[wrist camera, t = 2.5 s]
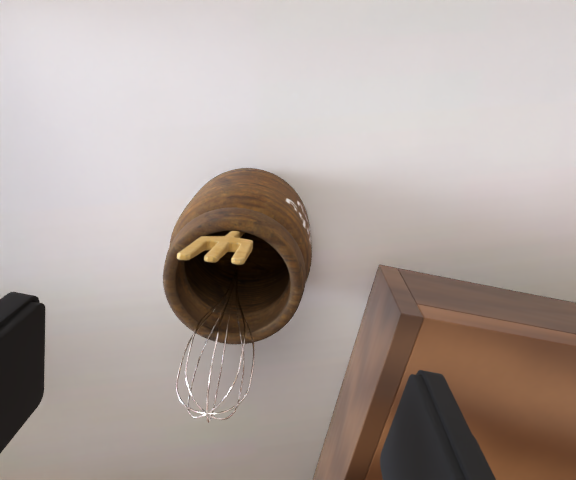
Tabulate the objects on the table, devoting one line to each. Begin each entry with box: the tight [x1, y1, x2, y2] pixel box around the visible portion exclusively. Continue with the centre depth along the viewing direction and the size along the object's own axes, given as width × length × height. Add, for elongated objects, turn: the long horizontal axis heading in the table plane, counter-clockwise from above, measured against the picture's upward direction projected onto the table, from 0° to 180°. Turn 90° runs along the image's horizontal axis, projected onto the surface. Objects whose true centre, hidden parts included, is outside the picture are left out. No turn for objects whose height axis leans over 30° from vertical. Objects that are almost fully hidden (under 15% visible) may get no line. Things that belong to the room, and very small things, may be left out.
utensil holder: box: [163, 168, 312, 423], centre depth 16 cm, size 6×6×12 cm
